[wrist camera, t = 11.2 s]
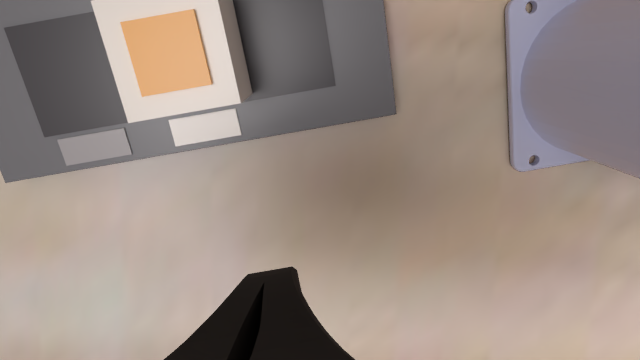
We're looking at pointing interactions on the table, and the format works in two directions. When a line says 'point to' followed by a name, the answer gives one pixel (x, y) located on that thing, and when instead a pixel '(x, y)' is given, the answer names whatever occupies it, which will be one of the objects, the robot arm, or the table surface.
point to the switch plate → (194, 127)
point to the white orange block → (173, 55)
